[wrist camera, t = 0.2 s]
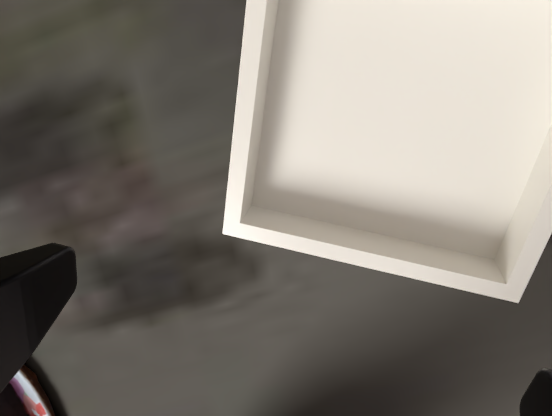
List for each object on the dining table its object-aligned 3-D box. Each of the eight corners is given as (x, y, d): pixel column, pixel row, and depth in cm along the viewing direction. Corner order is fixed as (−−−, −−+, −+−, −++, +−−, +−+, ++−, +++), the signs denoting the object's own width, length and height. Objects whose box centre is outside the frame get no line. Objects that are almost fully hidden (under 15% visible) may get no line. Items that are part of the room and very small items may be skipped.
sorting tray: (500, 268, 22) (518, 303, 19) (239, 209, 24) (222, 233, 21) (636, -43, 16) (688, -56, 13) (275, -90, 18) (257, -109, 15)
